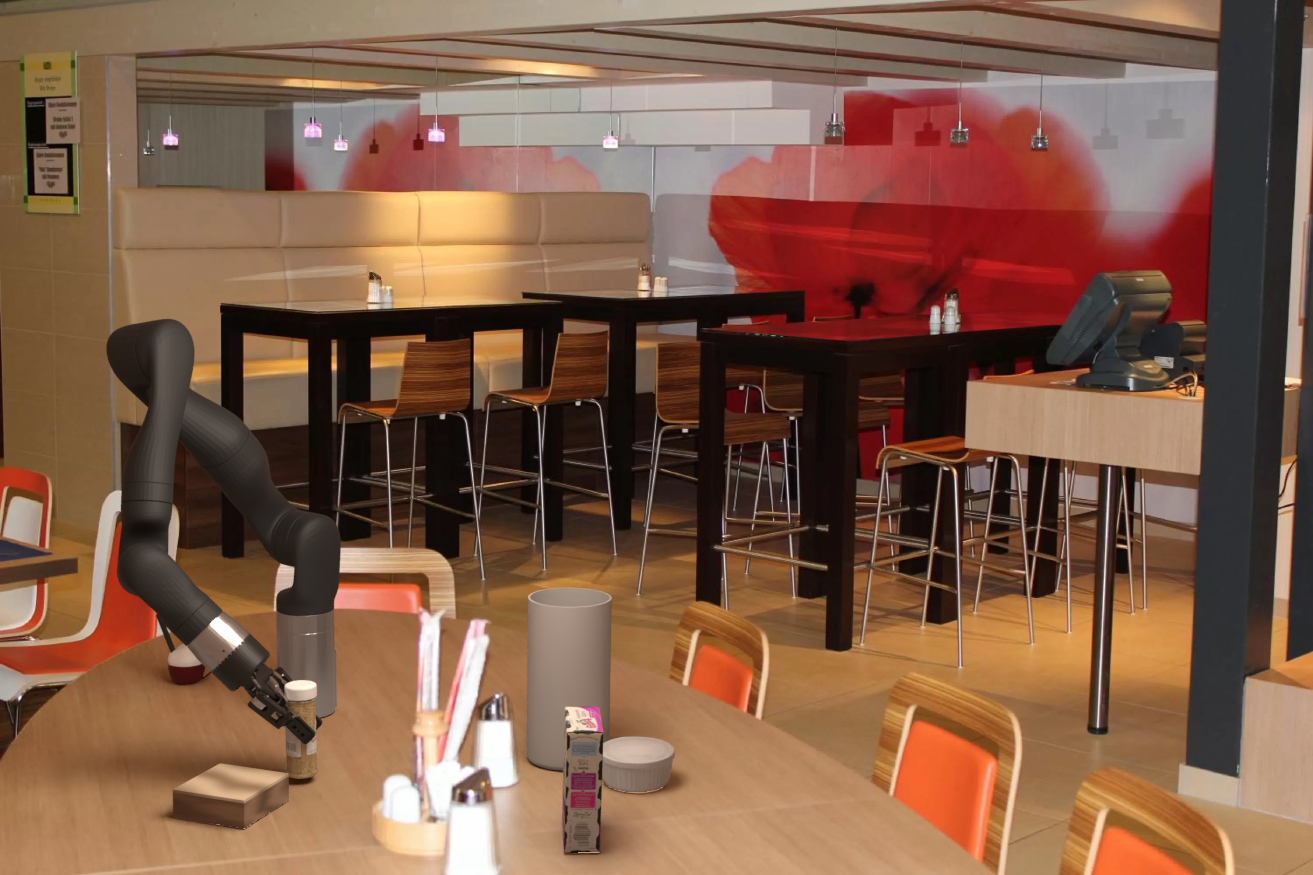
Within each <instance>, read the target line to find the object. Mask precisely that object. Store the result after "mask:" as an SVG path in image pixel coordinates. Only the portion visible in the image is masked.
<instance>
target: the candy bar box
mask: <svg viewBox="0 0 1313 875" xmlns="http://www.w3.org/2000/svg"><path fill="white" fill-rule="evenodd" d="M602 770H603V727H602V721H601V714H600V708H599V707H565V725H564V759H563V771H562V805H561V806H562V807H561V808H562V813H561V814H562V815H561V818H562V819H561V824H562V840H563V841H562V842H563V853H564V854H565V853H578V852H599V851H600V852H601V831H602V830H601V829H602V825H601V824H602V802H603V801H602V800H603V799H602V797H603V777H602Z"/></svg>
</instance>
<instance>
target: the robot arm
mask: <svg viewBox="0 0 1313 875" xmlns="http://www.w3.org/2000/svg"><path fill="white" fill-rule="evenodd" d="M105 345H106V347H105V348H106V352H105V353H106V357H107V358H106V359H107V361H108V364H109V366H110V368H111V370H112V372H113V373H114V375H115V377H116V378H117V380H118V381H120V383H122V385H123V386H124V387H125V388H126V389H127V390H128V391H129V392H130V393H131V394H133V395H134V396H135V397H136V398H137V399H138V400H139V401H141V403H142V404H143V405H144V406H145V407H147V411H146V413H145V416H144V419H143V422H142V424H141V426H140V428H139V431H138V432H137V434H136V436H135V438H134V440H133V442H132V444H131V447H130V449H129V451H128V454H127V455H126V459H125V462H124V465H123V469H122V476H121V491H120V492H121V494H120V521H121V528H120V537H119V546H118V554H117V564H116V576H117V580H118V583H119V585H120V586H121V588H122V589H123V590H124V591H125V592H126V593H128V594H130V595H132V596H135V597H138V598H140V599H141V600H142V601H143V603H145V604H146V605H147V606H148V607H149V608H150V609H151V610H153V612H155V613H156V615H157V614H158V615H159V616H160V617H161V619H162V621H163V623H164V624H165V625H166V627H167V629H168V631H170V633H172V634H173V635H174V636H175V637H176V638H177V639H178V640H180V642H181V644H185V645H186V646H187V647H188V649H189V650H190V651H191V652H192V653H193V655H194V656H195V657H196V658H197V659H198V660H199V661H200V662H201V663H202V664H203V665H204V666H205V669H207V670H208V671H209V672H211V675H212V676H214V677H215V678H216V679H217V680H218V681H219V682H220V683H222V684H223V685H224V686H225V688H227V690H229V691H230V692H236V691H237V690H238V689H240V688H241V687H242V688H244V690H245V691H246V692H247V694H248V696H250V698H251V699H250V700H249V701H248V702H247V704H246V705H247V707H248V708H249V709H250V710H252V711H253V712H255V713H256V714H257V715H259V717H261V718H263V719H264V720H265V721H266V722H267V723H269V724H270V725H272V726H273V727H274V728H275V729H277V730H280V729H281V728H283V729H285V728H286V727H287V728H288V729H289V730H290V731H291V732H292V733H293V734H294V735H295V736H296V737H297V738H298V739H299V740H300V741H301V742H302V743H303V744H308V743H309V742H310V741H311V740H312V739H313V738H314V737H315V735H316V736H317V730H318V729H320V727H321V726H322V725H323V720H322V719H321V718H325V717H327V716H330V715H331V714H333V713H334V712H335V710H336V706H337V704H338V701H337V699H338V698H337V697H338V696H337V695H338V694H337V692H338V691H337V689H338V688H337V651H336V649H335V600H336V596H337V595H338V591H339V586H340V574H341V572H340V571H341V570H340V569H341V550H342V548H341V546H342V545H341V543H342V542H341V533H340V529H339V527H338V525H337V524H336V521H334V519H333V518H331V517H330V516H327V515H326V514H325V515H324V514H320V513H316V512H312V511H307V510H301V509H298V508H296V507H295V506H294V505H293V504H291V502H289V501H288V500H287V498H285V496H284V495H283V494H282V493H281V492H280V491H279V489H278V488H277V487H276V485H275V484H274V482H273V479H272V476H271V470H270V464H269V458H268V454H267V453H266V450H265V448H264V447H263V445H262V444H261V443H260V441H259V440H258V438H257V437H256V436H255V434H254V433H253V432H252V431H251V429H250V428H249V427H248V426H247V424H245V423H244V421H243V420H242V419H241V418H240V417H238V416H237V415H236V414H234V413H233V412H231V411H230V410H228V409H227V408H225V407H223V406H222V405H220V404H219V403H217V402H214V401H213V400H211V399H209V398H207V397H205V396H203V395H202V394H199V393H198V392H197V391H194V390H193V389H192V388H190V386H191V381H192V377H193V371H194V365H195V343H194V340H193V336H192V335H191V332H190V330H189V329H188V328H187V327H186V325H185V324H183V323H182V322H181V321H179V320H176V319H173V318H161V319H154V320H149V321H148V320H147V321H145V322H144V321H143V322H142V321H141V322H138V323H132V324H127V325H124V326H121V327H119V328H117V329H115V330H114V331H113V332H111V334H110V335H109V337H108V338H107V342H106V344H105ZM179 442H180V444H181V445H182V446H183V447H184V449H186V450H187V451H188V453H189V454H190V455H191V457H192V458H193V459H194V461H195V462H196V463H197V464H198V465H199V467H200V468H201V469H202V471H203V472H204V473H205V474H206V475H207V477H209V478H210V480H211V481H212V482H213V483H214V484H215V485H216V486H217V487H218V489H219V490H220V491H221V492H222V493H223V494H224V496H225V497H226V498H227V499H228V500H229V501H230V502H231V503H232V505H233V506H234V507H235V508H236V509H237V511H238V512H239V513H240V514H241V515H242V516H243V518H244V519H245V520H246V522H247V524H248V525H249V526H250V528H251V530H252V531H253V533H254V534H255V535H256V538H257V539H258V540H259V542H260V543H261V545H262V546H263V548H264V549H265V551H266V552H267V553H268V555H269V556H270V557H271V558H272V559H273V560H274V561H276V562H278V564H281V565H284V566H286V567H290V568H291V567H292V568H293V570H294V571H293V582H292V585H291V586H289V587H287V588H284V589H280V591H278V593H277V594H276V597H275V599H276V601H275V609H276V610H275V613H276V615H275V616H276V618H275V619H276V620H275V621H276V626H275V627H276V669H274V670H273V669H272V668H271V667H269V666H268V665H266V664H265V663H266V662H267V661H268V659H270V655H271V654H270V651H269V650H268V649H267V648H265V646H264V645H262V644H261V643H260V642H259V641H258V640H257V639H256V638H255V637H254V636H253V635H252V634H251V633H250V632H249V631H248V629H246V628H244V626H243V625H242V624H240V623H239V621H237V619H235V618H234V617H232V616H231V615H230V614H228V613H227V612H225V611H223V609H222V607H220V606H219V605H218V604H217V603H216V602H215V601H214V600H213V599H212V598H210V596H209V595H208V594H206V592H204V591H203V590H202V589H200V588H199V587H198V586H197V585H196V584H195V583H194V582H193V581H192V579H191V577H189V576H188V574H187V573H186V572H185V571H184V570H183V568H182V567H181V566H180V565H179V564H178V563H177V562H176V561H175V560H174V559H173V558H172V557H171V555H170V554H169V536H170V535H169V529H170V523H171V520H172V514H173V504H174V485H175V484H174V483H175V466H176V458H177V457H176V456H177V448H178V445H179ZM297 680H308V681H312V682H315V683H316V685H317V696H316V705H315V707H316V732H315V731H314V730H313V729H312V728H311V727H310V726H309V725H308V724H307V723H306V722H305V721H304V720H303V719H302V718H301V717H299V716H298V717H297V714H296V712H295V711H294V710H293V709H292V708H291V706H290V705H289V702H290V701H289V699H288V698H287V696H286V695H285V694H284V686H285V684H287V683H289V682H292V681H297ZM296 717H297V718H296Z"/></svg>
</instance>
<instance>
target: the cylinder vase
mask: <svg viewBox="0 0 1313 875" xmlns="http://www.w3.org/2000/svg"><path fill="white" fill-rule="evenodd" d="M612 598H613V597H612V595H611V594H609V593H607V592H605V591H601V590H598V589H593V588H586V587H585V588H584V587H553V588H551V587H550V588H545V589H539V590H536V591H534V592H531V593H530V594H528V595H527V637H526V638H527V645H526V646H527V647H526V648H527V651H526V655H527V658H526V659H527V662H526V738H525V739H526V740H525V741H526V743H525V744H526V750H525V751H526V753H525V754H526V758H527V759H528V760H529V761H530V762H531V763H532V764H533V765H535V766H537V767H540V768H542V769H546V770H552V771H558V770H562V771H561V772H563V759H564V725H565V707H599V708H600V714H601V721H602V727H603V743H604V742H606V741H609V740H610V725H611V723H610V720H611V718H610V717H611V716H610V714H611V712H610V711H611V667H612V666H611V662H612V659H611V658H612V651H611V650H612V606H613V605H612V602H613V601H612V600H613V599H612Z"/></svg>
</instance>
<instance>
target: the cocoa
mask: <svg viewBox="0 0 1313 875" xmlns="http://www.w3.org/2000/svg"><path fill="white" fill-rule="evenodd" d="M155 618H156V619H157V622H158V624H159V627H160V630H161V632H162V634H163V637H164V639H165V642H166V644H167V647H168V649H169V653H168V656H167V669H168V674H169V677H170V679H171V680H172V681H173V683H175V684H177V685H180V686H190V685H194V684H197V683H199V681H202V680H204V679H206V678H207V677H209V676H210V675H212V673H211V672H210V671H209V672H208V673H207V674H205V672H206V667H205V666H204V665H203V664H202V663H201V662H200V661H199V660H198V659H197V658H196V657H195V656H194V655H193V653H192V652H191V651H190V650H189V649H188V647H187V646H186V645H185V644H183V643H181V644H179V645H178V646H177V647H175V645H174V642H173V641H172V638H171V637H172V636H171V635H170V632H169V629H168V628H167V627H166V625H165V624H164V623H163V621H162V619H161V617H160V616H159V615H158V614H157V613H156V615H155ZM204 674H205V675H204Z"/></svg>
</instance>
